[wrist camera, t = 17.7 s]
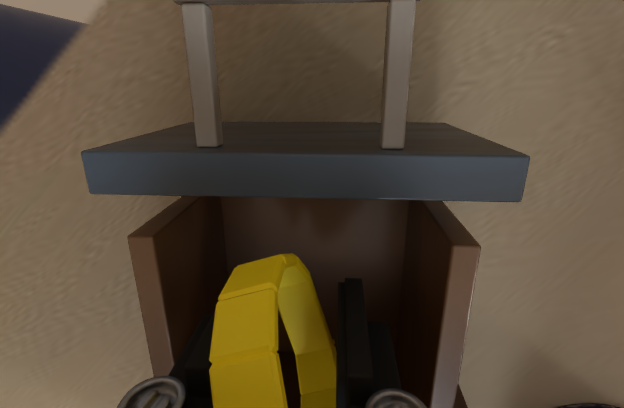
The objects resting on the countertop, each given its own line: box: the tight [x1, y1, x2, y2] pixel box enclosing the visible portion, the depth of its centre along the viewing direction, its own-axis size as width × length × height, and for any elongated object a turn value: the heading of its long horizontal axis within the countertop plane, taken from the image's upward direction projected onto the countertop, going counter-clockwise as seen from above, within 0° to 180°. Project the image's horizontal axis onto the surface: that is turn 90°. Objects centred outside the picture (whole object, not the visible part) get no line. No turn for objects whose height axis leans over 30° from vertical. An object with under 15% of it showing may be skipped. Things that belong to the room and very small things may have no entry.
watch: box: [209, 253, 337, 408], centre depth 9 cm, size 6×3×6 cm, turn 18°
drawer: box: [81, 0, 530, 408], centre depth 14 cm, size 17×11×7 cm, turn 0°
